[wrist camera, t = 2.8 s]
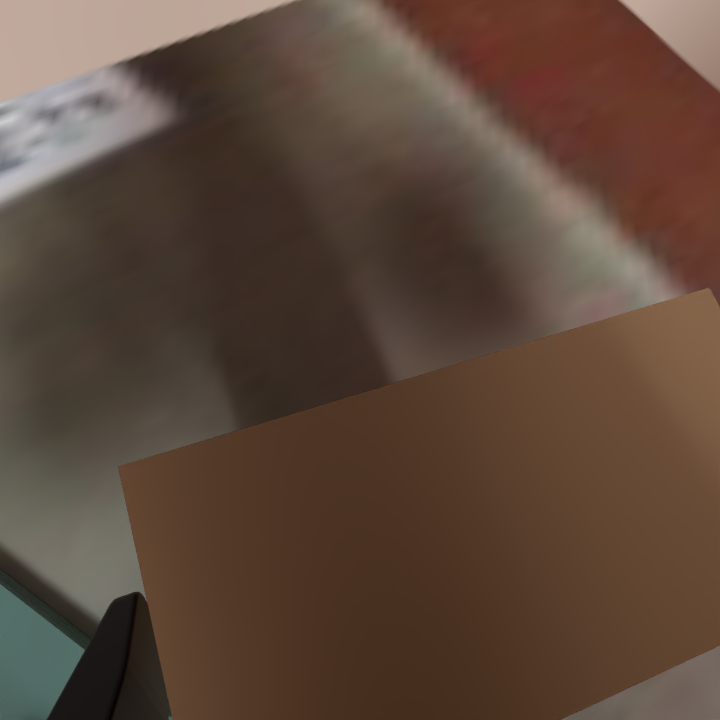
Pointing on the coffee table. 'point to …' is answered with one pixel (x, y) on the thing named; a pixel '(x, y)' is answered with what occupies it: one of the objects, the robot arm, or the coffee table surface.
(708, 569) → the tan cardboard brick
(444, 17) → the coffee table surface
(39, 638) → the teal holder base
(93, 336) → the coffee table surface
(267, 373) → the coffee table surface
